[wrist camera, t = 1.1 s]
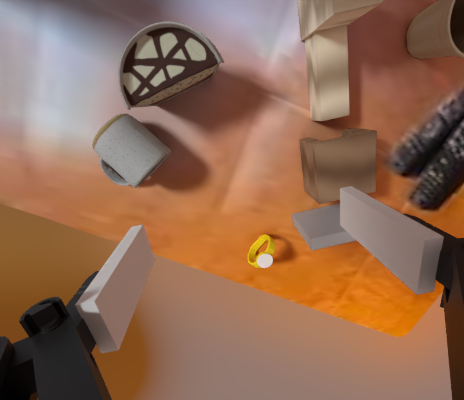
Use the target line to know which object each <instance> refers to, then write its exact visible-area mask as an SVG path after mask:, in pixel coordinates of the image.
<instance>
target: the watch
mask: <svg viewBox="0 0 464 400" xmlns="http://www.w3.org/2000/svg"><path fill="white" fill-rule="evenodd" d="M266 240H269V242H268V247H267V249H266V251H265V252H261V253H259V254H258V255H257V257H256V262H254V257H255V254H256V252H257V250H258V249H259V247H260V246H261V245H262V244H263V243H264V242H265V241H266ZM274 250H275V241H274V239H273V238H271V237H270V236H268V235H266V234H265V235H262V236H260V237H259V239H258V240H257V241H256V242H255V243H254V244H253V245H252V246H251V248H250V250H249V253H248V262H249V264H251V265H252V266H254V267H256V268H259V267H262V268H266V267H269V266H270V265H271V264H272V262H273V258H272V255H273V253H274Z"/></svg>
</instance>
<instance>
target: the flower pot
mask: <svg viewBox="0 0 464 400" xmlns="http://www.w3.org/2000/svg"><path fill="white" fill-rule="evenodd" d="M406 39H407V49H408V51H409V53H410V54H411V55H412V56H413V57H416V58H419V59H425V58H434V57H448V56H456V57H462V58H464V0H438V1H436V2H435V3H433V4H432V5H430V6H429V7H427V8H426V9H424V10H423V11H421V12H420V13H419V14H418V15H417V16H416V17H415V18H414V19H413V21H412V22H411V24H410V26H409V28H408V30H407V34H406Z"/></svg>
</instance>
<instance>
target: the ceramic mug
mask: <svg viewBox="0 0 464 400" xmlns="http://www.w3.org/2000/svg"><path fill="white" fill-rule="evenodd" d="M93 149H94V150H95V151H96V153H97V154H98V155H99V156H100V157H101V158H100V165H101V168H102V170H103V172H104V173H105V174H106V176H107V177H108V178H109V179H110V180H112V181H113V182H115V183H116V184H118V185H123V186H125V185H132V186H133V187H134V188H137V187H138V186H140V185H141V184H142V183H143V182H144V181H145V180H146V179H147V178H148V177H149V176H150V175H151V174H152V173H153V172H154V171H155V170H156V169H157V168H158V167H159V166H160V165H161V164H162V163H163V162H164V160H165V159H166V158H167V157H168V156H169V154H170V153H171V150H170V149H169V148H168V147H167V146H166V145H165V144H163V143H162V142H161V141H160V140H159V139H158V138H157V137H156V136H155V135H153V134H152V133H151V132H150V131H149V130H148V129H147V128H145V127H144V126H143V125H142V124H141V123H140V122H139V121H138V120H136V119H135V118H133V117H132V116H130V115H128V114H120V115H117V116H115V117H113V118H112V119H111V120H109V121H108V122H107V123H106V124H105V125H104V126H103V127H102V128H101V129H100V130H99V131H98V133H97V134H96V136H95V138H94V140H93ZM110 166H111V167H112V168H113V169H114V170H115V171H116V172H118V173H119V174H120V175H121V176H122V177H123V178H124V179H123V178H121V177H120V176H119V175H118V174H117V173H116V172H115V171H114V170H113V169H112V168H111V167H110Z"/></svg>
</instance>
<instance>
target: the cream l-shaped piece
mask: <svg viewBox="0 0 464 400" xmlns="http://www.w3.org/2000/svg"><path fill="white" fill-rule="evenodd" d="M297 1H298V12H299V24H300V35H301V41H304V40H305V52H306V64H307V76H308V88H309V100H310V112H311V120H313V121H325V120H330V119H334V118H339V117H343V116H347V115H349V78H348V41H347V25H349V24H350V23H352V22H353V21H355V20H356V19H358V18H360V17H361V16H363V15H364V14H366V13H367V12H369V11H370V10H372V9H373V8H375V7H376V6H378V5H379V4H381V3H383V0H297Z"/></svg>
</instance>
